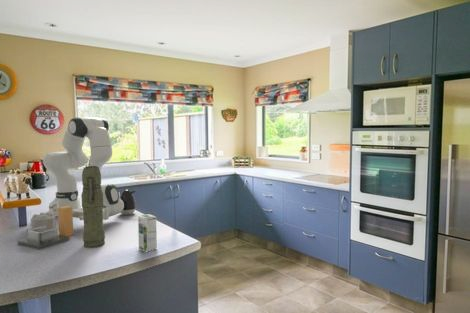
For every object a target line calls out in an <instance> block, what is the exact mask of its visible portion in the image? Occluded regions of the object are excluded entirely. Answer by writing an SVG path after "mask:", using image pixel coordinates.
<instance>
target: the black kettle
mask: <svg viewBox="0 0 470 313" xmlns="http://www.w3.org/2000/svg"><path fill="white" fill-rule="evenodd" d="M134 193H136V190H132V191H131V190H130V189H124V190H122V191H121V193H120V195H119V197H120V199H121V200H122V201H123V203H124V208H123V210H122V211H121V212H120V213H119V214H121V215H122V216H130V215H132V214H134V212H135V211H136V208H137V206H136V205H137V204H136V200H135V197H134V195H133V194H134ZM129 214H130V215H129Z"/></svg>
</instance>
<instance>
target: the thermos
mask: <svg viewBox="0 0 470 313" xmlns="http://www.w3.org/2000/svg"><path fill="white" fill-rule="evenodd" d="M101 176H102V173H101V169H99V167H97V166H89V165H87V166H86V165H85V166H83V169H82V173H81V181H82V182H81V183H82V191H81V195H80V196H81V198H80V199H81V208H83V217H84V220H83V232H82V241H83V247H84V248H87V249H94V248H100V247H102V246H104V245H105V244H106V243H105V238H106V231H105V229H104V220H103V210H102V207H103V192H102V189H101V185H102V177H101Z"/></svg>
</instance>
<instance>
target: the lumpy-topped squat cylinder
mask: <svg viewBox="0 0 470 313" xmlns="http://www.w3.org/2000/svg"><path fill="white" fill-rule="evenodd" d="M56 222H57V221H56V217H55V215H54V213H50V212H47V213H46V214H45V212H40V213H39V214H33V215H32V217H31V219H30V225H31V229H35V228H39V227H42V226H46V228H47V230H51V229H55V228H57V226H56V224H57V223H56ZM31 229H30V230H31Z"/></svg>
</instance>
